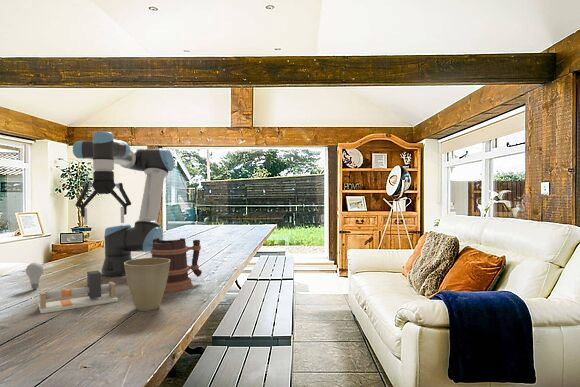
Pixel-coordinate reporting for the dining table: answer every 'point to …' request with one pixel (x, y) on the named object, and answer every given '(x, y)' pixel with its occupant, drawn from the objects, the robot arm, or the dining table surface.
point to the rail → (75, 302)
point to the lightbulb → (34, 274)
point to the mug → (177, 262)
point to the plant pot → (147, 281)
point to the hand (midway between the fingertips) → (104, 224)
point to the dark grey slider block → (94, 284)
